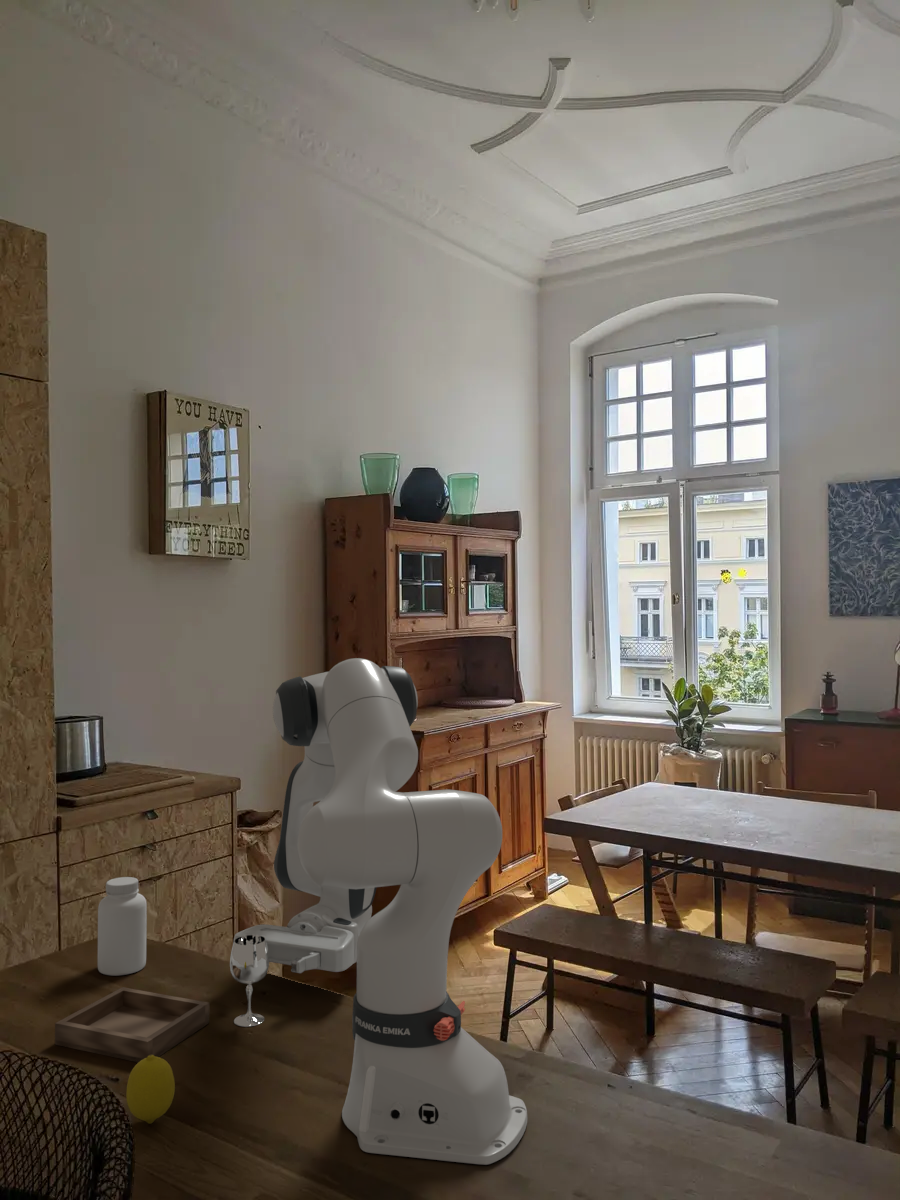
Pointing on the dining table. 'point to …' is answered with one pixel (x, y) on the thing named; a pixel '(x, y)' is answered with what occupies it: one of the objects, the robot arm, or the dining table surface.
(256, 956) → the wineglass
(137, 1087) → the lemon
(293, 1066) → the dining table surface
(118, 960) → the pill bottle
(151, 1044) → the tray
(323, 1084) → the dining table surface
